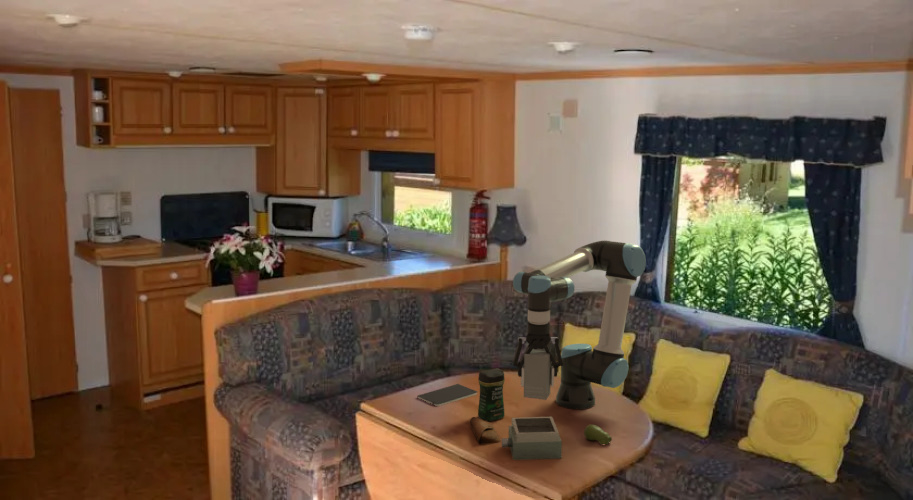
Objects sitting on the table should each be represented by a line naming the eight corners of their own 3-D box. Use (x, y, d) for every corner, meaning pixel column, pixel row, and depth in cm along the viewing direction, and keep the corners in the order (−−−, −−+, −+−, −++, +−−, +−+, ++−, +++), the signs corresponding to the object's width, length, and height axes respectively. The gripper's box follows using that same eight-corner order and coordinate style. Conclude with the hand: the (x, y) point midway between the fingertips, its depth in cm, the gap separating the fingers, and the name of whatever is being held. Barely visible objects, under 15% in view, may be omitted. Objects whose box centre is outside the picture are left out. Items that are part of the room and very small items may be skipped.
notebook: (458, 387, 337) (417, 399, 323) (457, 383, 337) (417, 395, 323) (478, 395, 327) (436, 408, 314) (478, 391, 327) (436, 404, 314)
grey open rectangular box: (554, 441, 280) (554, 416, 279) (561, 458, 267) (561, 432, 265) (500, 442, 280) (500, 418, 278) (504, 460, 266) (504, 434, 264)
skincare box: (550, 395, 279) (553, 350, 277) (545, 401, 272) (548, 356, 270) (526, 391, 282) (529, 347, 279) (521, 397, 275) (524, 352, 273)
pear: (591, 420, 284) (615, 431, 278) (588, 433, 286) (613, 445, 280) (582, 424, 280) (607, 436, 274) (580, 438, 282) (604, 450, 275)
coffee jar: (486, 423, 296) (486, 375, 293) (474, 417, 303) (474, 369, 300) (508, 418, 302) (508, 370, 298) (496, 411, 308) (495, 364, 305)
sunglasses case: (503, 442, 280) (493, 427, 278) (486, 453, 279) (476, 438, 278) (491, 422, 297) (482, 408, 296) (475, 433, 297) (466, 419, 295)
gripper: (569, 319, 277) (567, 381, 280) (504, 319, 276) (503, 382, 280) (573, 324, 269) (571, 389, 273) (506, 324, 269) (505, 389, 272)
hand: (537, 385), depth 276 cm, fingers closed on skincare box, 9 cm apart
